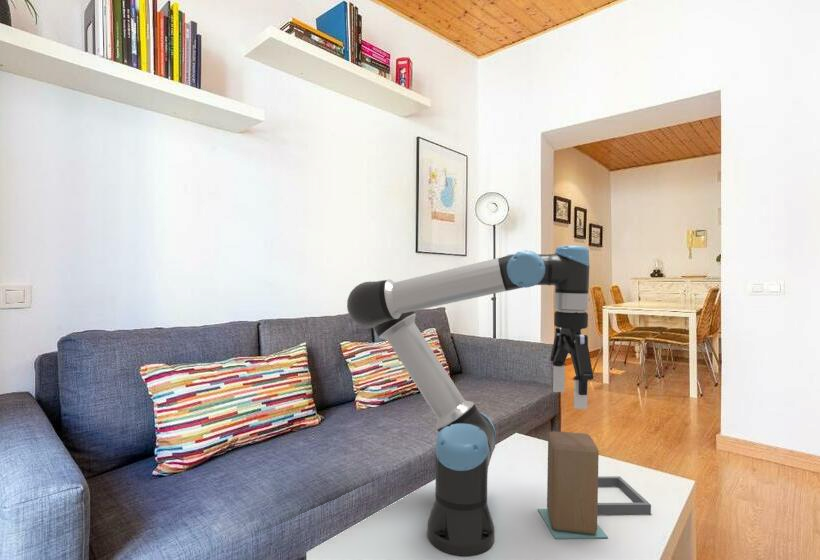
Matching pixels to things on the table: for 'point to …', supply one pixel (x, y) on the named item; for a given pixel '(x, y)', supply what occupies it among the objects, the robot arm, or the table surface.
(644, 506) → the gray square frame
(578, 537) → the board
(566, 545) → the table surface
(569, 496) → the wooden block
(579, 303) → the robot arm
